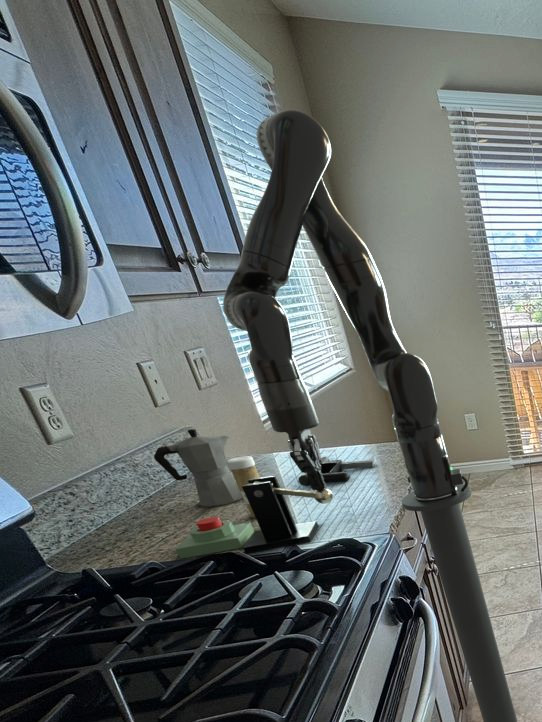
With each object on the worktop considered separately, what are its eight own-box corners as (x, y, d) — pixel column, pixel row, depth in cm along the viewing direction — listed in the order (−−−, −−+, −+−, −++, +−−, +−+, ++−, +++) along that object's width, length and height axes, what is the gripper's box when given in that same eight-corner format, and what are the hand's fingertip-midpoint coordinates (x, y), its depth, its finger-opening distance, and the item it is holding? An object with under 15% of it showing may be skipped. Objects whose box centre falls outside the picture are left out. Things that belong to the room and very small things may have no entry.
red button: (225, 523, 116) (221, 515, 115) (219, 529, 113) (215, 521, 112) (203, 527, 115) (199, 519, 114) (197, 533, 112) (193, 525, 111)
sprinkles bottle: (256, 519, 127) (231, 462, 122) (247, 516, 129) (222, 460, 124) (278, 512, 131) (255, 456, 125) (269, 509, 133) (245, 454, 127)
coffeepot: (240, 489, 148) (210, 421, 140) (263, 492, 144) (233, 423, 137) (170, 511, 135) (133, 437, 127) (193, 515, 132) (157, 440, 124)
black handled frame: (376, 452, 166) (312, 456, 161) (361, 471, 149) (290, 477, 144) (378, 462, 167) (316, 467, 162) (365, 483, 150) (294, 489, 145)
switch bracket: (318, 526, 122) (296, 469, 116) (310, 541, 115) (286, 482, 109) (257, 536, 118) (232, 479, 113) (245, 553, 111) (217, 492, 105)
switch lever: (333, 501, 119) (334, 487, 118) (331, 506, 116) (332, 492, 115) (255, 493, 113) (255, 478, 112) (251, 498, 110) (251, 483, 109)
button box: (254, 531, 121) (246, 514, 119) (242, 547, 113) (233, 529, 112) (196, 541, 117) (188, 524, 116) (180, 559, 110) (170, 540, 108)
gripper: (304, 407, 104) (335, 495, 111) (317, 396, 115) (345, 476, 122) (255, 413, 101) (291, 502, 109) (273, 400, 112) (305, 482, 120)
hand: (319, 488), depth 116 cm, fingers closed
